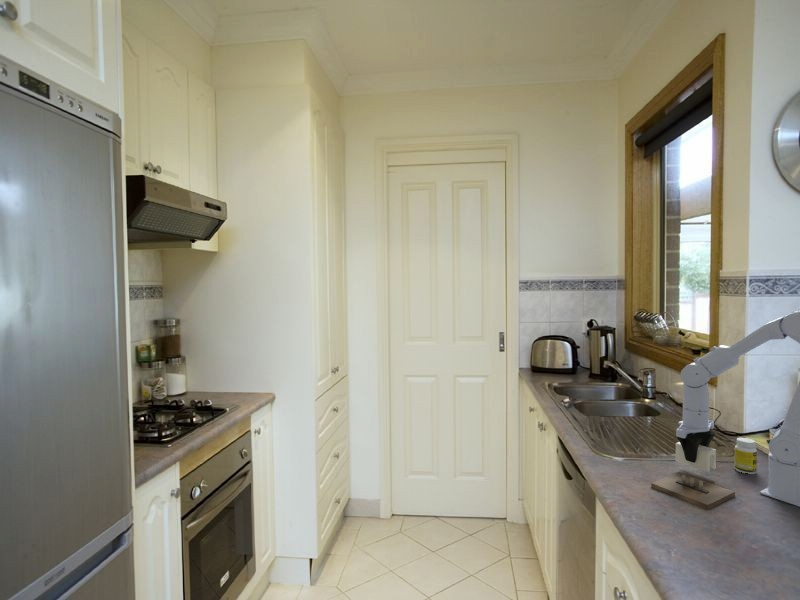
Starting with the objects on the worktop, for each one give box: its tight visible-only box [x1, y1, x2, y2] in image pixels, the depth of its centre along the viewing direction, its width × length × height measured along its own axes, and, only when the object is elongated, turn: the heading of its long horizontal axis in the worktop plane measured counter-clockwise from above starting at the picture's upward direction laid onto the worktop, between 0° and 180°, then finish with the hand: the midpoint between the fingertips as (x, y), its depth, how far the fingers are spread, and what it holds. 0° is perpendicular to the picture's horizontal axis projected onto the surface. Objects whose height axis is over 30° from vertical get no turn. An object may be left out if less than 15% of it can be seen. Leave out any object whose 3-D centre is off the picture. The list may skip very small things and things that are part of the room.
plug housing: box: [675, 441, 717, 473], centre depth 119 cm, size 8×4×5 cm, turn 29°
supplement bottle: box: [734, 437, 758, 475], centre depth 120 cm, size 5×5×8 cm
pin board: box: [650, 472, 736, 510], centre depth 110 cm, size 13×12×3 cm
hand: (695, 459), depth 119 cm, fingers closed on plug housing, 4 cm apart
